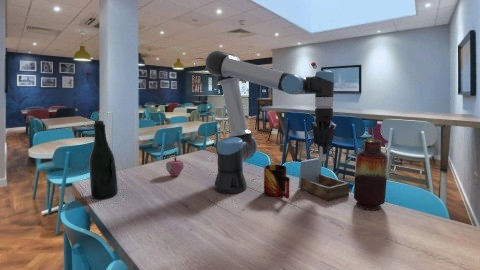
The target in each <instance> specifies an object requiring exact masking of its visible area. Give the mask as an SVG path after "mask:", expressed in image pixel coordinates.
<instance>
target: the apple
mask: <svg viewBox="0 0 480 270" xmlns="http://www.w3.org/2000/svg"><path fill="white" fill-rule="evenodd" d="M184 167H185V165H184V162H183V160H180V159H177V157H176V156H175V157H174V160H171V161H167V162H166V164H165V168H166V169H165V170H167V173H168V174H169V175H170V176H171V177H179V176H180V174H181V172H182V171H183V169H184ZM178 175H179V176H178Z"/></svg>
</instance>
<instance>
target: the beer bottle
mask: <svg viewBox="0 0 480 270" xmlns="http://www.w3.org/2000/svg"><path fill="white" fill-rule="evenodd" d="M93 131H94V132H93V133H94V139H93V140H94V141H93V147H92V150H91V152H90V156H89V159H88V160H89V164H88V165H89V166H88V168H89V182H90V193H91V194H90V195H91V197H92V199H96V200H105V199H110V198H113V197H114V196H116V195H117V194H118V193H119V188H118V187H119V186H118V175H117V168H116V167H117V166H116V159H115V156H114V153H113V151H112V150H111V147H110V145H109V143H108V140H107V133H106V124H105V123H104V120H95V121H94V124H93Z"/></svg>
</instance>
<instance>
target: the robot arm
mask: <svg viewBox="0 0 480 270" xmlns="http://www.w3.org/2000/svg"><path fill="white" fill-rule="evenodd" d="M204 62H205V68H206V70H207V72H208V73H209V74H210V75H212V76H215V77H216V78H217V83H218V84H219V85H220V86H221V87H222V92H223V93H222V94H223V99H224V103H225V108H226V112H227V114H226V115H227V118H228V122H229V129H230V134H229V135H228V137H223V138H221V139H219V140H218V141H217V147H216V151H217V152H216V153H217V174H216V177H215V181H214V187H213V188H214V190H215V192H219V193H221V194H222V193H223V194H237V193H242V192H244V191H246V190H247V181H246V178H245V175H244V167H243V166H244V163H243V162H245V161H247V160H249V159H251V158H252V157H253V156H255V154H256V153H257V150H258V143H257V140H256V139H255V138H254V137H253V136H252V131H251V130H250V129H249V128H248V126H247V125H248V123H247V119H246V114H245V109H244V103H243V98H242V93H241V87H240V81H241V80H242V81H245V82H248V83H251V84H256V85H259V86H263V87H266V88H269V89H273V90H277V91H281V92H284V93H286V94H289V95H294V96H296V95H313V94H314V95H315V97H314V107H315V109H314V117H315V120H314V121H313V122H311V123H310V126H311V128H312V134H313V140H314V141H313V142H314V145H316V146H318V154H319V156H318V158H319V161H322V162H326V161H327V154H328V147H330V146H332V144H333V140H334V136H335V132H336V129H337V128H338V124H335V123H334V122H333V116H334V109H333V108H334V92H335V89H334V88H335V73H334V72H333V71H331V70H318V71H316V73H315V75H314V76H301V75H298V74H294V73H289V72H284V71H281V70H278V69H277V70H276V69H275V68H274V69H273V68H269V67H265V66H261V65H258V64H255V63H249V62H247V61H246V62H245V61H242V60H240V58H239V57H237V56H236V55H234V54H232V53H227V52H223V51H220V50H214V51H212V52H210V53H208V55H207V57H206V59H205V61H204Z"/></svg>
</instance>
